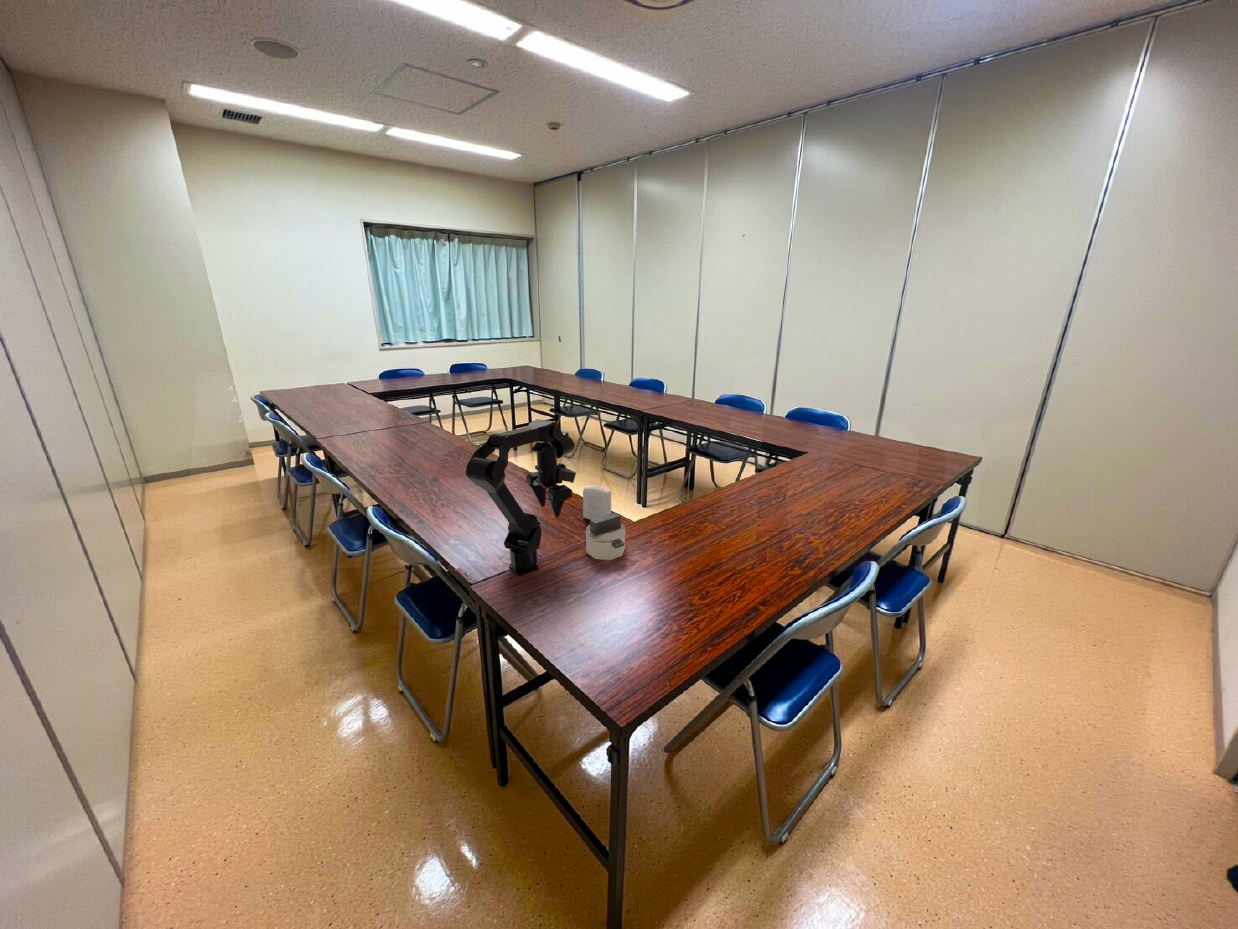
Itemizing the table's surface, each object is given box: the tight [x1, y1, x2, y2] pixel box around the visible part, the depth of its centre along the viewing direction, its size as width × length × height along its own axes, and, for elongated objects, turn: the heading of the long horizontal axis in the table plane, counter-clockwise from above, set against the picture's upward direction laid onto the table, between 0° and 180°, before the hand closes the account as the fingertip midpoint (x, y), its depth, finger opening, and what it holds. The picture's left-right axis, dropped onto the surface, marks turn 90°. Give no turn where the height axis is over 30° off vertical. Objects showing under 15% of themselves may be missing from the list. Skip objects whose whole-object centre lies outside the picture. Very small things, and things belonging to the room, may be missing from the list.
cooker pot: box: [585, 535, 626, 561], centre depth 143 cm, size 11×15×6 cm
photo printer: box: [582, 484, 612, 521], centre depth 163 cm, size 10×4×12 cm, turn 60°
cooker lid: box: [585, 512, 627, 542], centre depth 142 cm, size 12×12×5 cm
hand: (549, 511), depth 142 cm, fingers open, 9 cm apart
